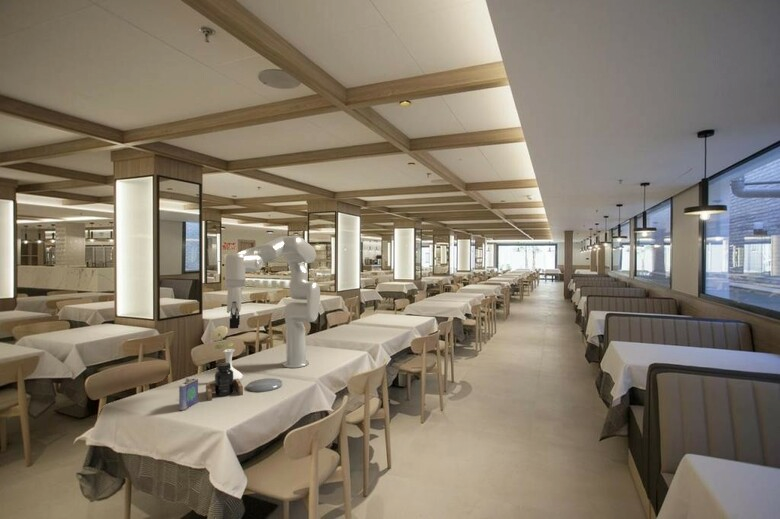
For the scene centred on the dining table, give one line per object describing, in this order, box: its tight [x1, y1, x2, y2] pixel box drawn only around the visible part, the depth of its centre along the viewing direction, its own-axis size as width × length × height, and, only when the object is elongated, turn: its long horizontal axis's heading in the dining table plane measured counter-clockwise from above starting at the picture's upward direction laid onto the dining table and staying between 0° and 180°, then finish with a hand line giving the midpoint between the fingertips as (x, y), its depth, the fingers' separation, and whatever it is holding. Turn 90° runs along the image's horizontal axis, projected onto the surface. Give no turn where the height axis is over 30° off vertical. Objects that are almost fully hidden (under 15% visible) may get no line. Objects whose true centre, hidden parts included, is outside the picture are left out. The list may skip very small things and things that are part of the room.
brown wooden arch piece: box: [205, 379, 244, 402], centre depth 155 cm, size 11×12×4 cm
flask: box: [178, 376, 199, 412], centre depth 142 cm, size 9×3×11 cm, turn 173°
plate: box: [246, 377, 283, 393], centre depth 164 cm, size 14×14×1 cm
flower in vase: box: [209, 325, 244, 381], centre depth 170 cm, size 13×11×25 cm
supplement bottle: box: [214, 362, 235, 398], centre depth 155 cm, size 7×7×12 cm
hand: (234, 326), depth 156 cm, fingers open, 9 cm apart
